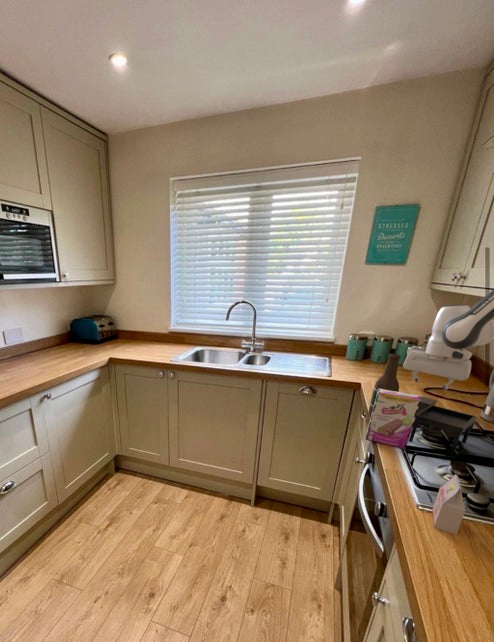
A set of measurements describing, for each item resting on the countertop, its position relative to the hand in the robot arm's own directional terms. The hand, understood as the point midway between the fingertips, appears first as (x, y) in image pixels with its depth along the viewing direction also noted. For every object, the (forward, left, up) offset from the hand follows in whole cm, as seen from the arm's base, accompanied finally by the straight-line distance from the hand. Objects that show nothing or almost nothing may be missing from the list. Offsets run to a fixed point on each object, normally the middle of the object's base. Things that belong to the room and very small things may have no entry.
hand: (429, 385), depth 126 cm
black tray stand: (-12, +26, -11) cm, 31 cm away
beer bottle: (+8, +20, -11) cm, 24 cm away
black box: (0, 0, -11) cm, 11 cm away
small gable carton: (-25, +69, -11) cm, 75 cm away
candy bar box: (-2, +40, -11) cm, 42 cm away
